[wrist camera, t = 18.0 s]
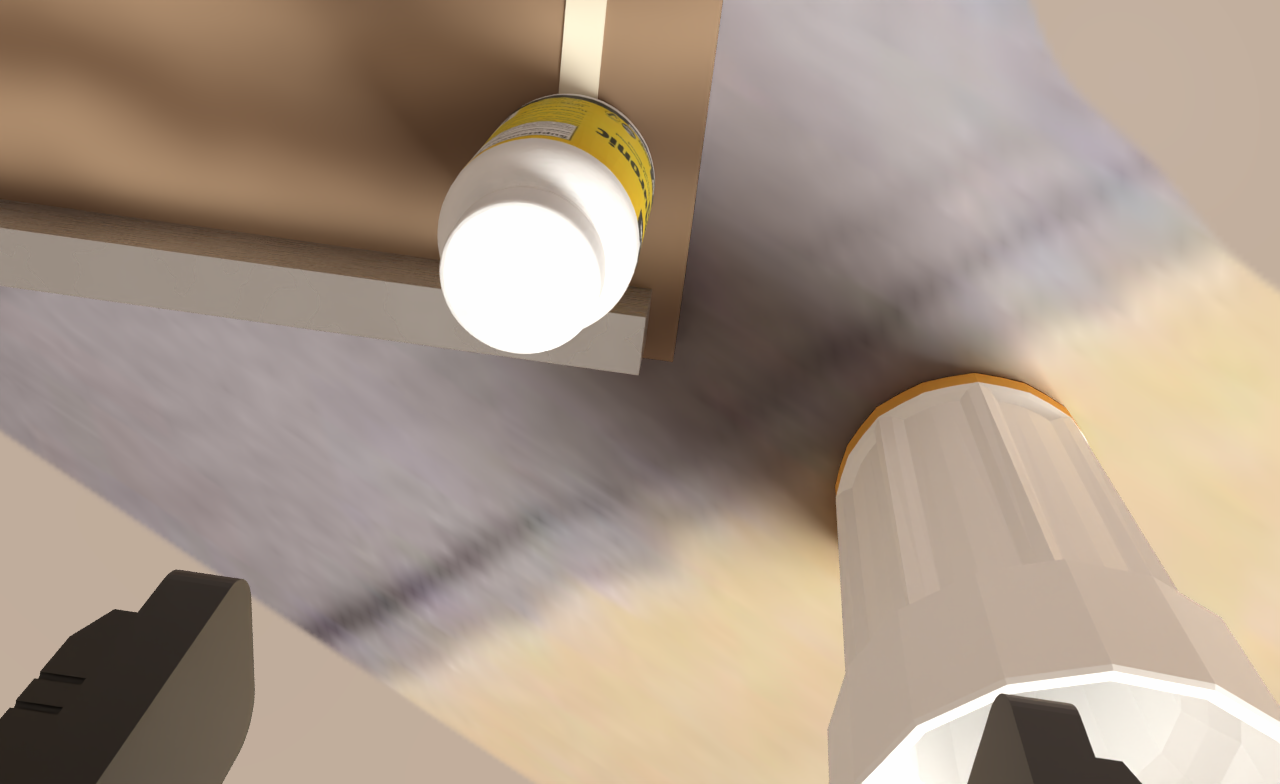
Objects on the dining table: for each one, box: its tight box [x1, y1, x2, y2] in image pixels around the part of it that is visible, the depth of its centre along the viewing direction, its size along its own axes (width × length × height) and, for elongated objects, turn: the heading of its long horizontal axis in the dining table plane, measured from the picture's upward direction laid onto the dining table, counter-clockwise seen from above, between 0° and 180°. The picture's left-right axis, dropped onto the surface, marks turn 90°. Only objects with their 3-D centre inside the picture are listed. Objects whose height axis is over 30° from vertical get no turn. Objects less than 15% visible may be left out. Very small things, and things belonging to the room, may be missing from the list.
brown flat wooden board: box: [0, 0, 723, 362], centre depth 38 cm, size 14×28×2 cm, turn 84°
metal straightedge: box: [0, 199, 652, 375], centre depth 39 cm, size 2×26×2 cm, turn 84°
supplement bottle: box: [437, 94, 655, 354], centre depth 33 cm, size 5×5×10 cm
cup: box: [828, 373, 1280, 784], centre depth 35 cm, size 11×11×17 cm
